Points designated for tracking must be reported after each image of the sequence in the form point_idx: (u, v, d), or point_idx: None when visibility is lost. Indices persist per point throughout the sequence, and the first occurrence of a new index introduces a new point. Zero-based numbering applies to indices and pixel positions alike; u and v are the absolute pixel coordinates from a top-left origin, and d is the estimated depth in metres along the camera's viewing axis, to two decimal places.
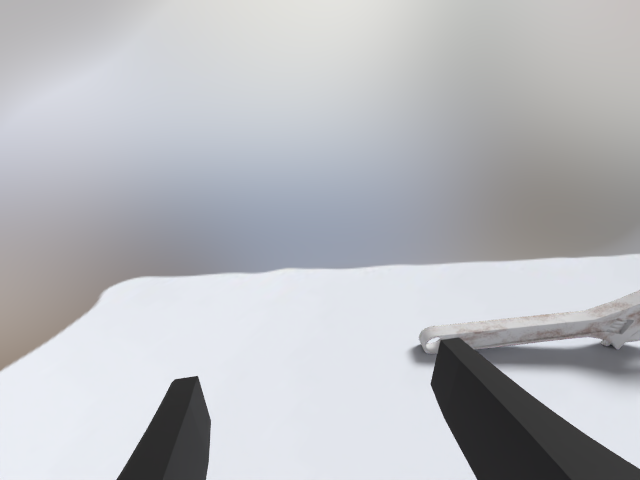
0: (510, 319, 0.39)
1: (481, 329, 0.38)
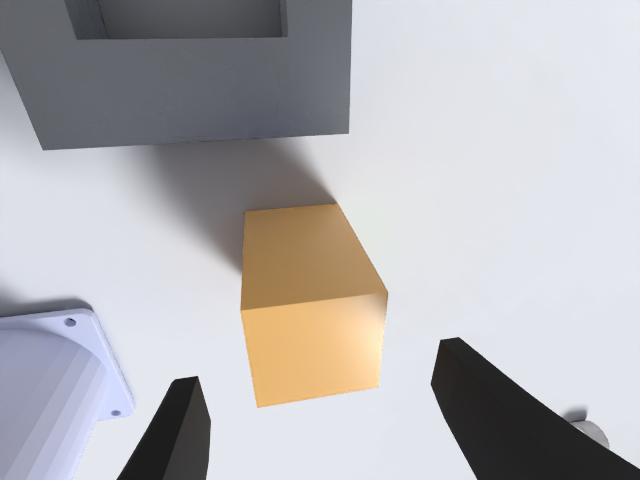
0: None
1: None
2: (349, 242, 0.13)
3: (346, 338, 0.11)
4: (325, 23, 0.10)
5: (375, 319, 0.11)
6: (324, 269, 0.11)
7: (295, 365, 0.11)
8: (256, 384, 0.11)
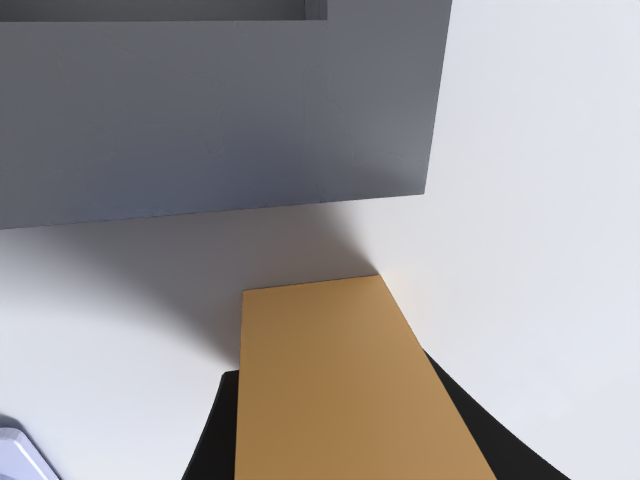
0: None
1: None
2: (417, 373, 0.08)
3: None
4: None
5: None
6: (388, 457, 0.06)
7: None
8: None
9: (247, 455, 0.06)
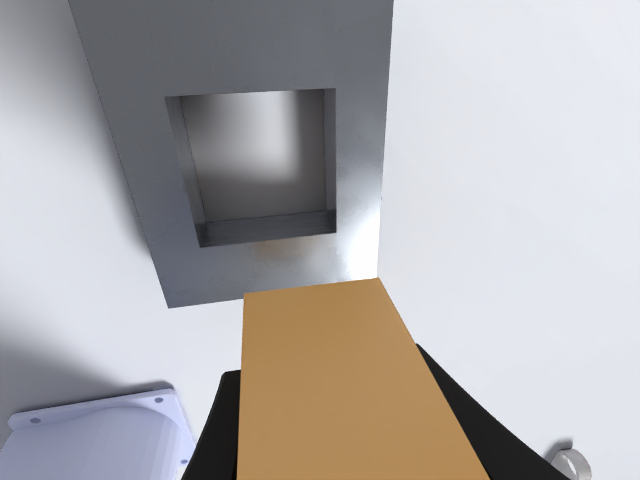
0: None
1: None
2: (415, 375, 0.08)
3: None
4: (362, 223, 0.15)
5: None
6: (385, 456, 0.06)
7: None
8: None
9: (249, 455, 0.06)
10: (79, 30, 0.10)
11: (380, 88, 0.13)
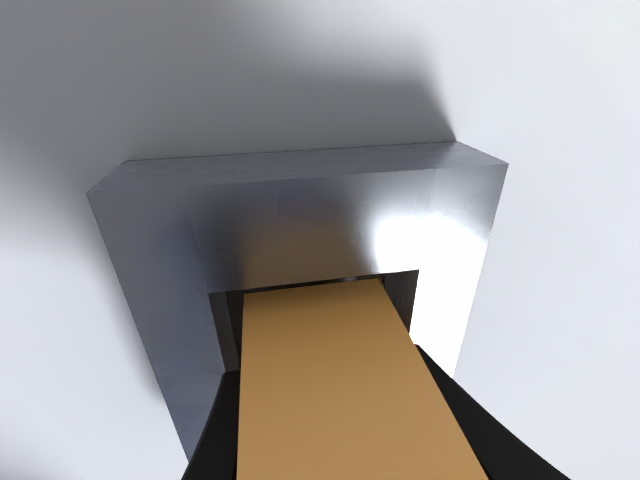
0: None
1: None
2: (414, 375, 0.08)
3: None
4: None
5: None
6: (385, 457, 0.06)
7: None
8: None
9: (249, 455, 0.06)
10: (104, 236, 0.08)
11: (472, 265, 0.10)
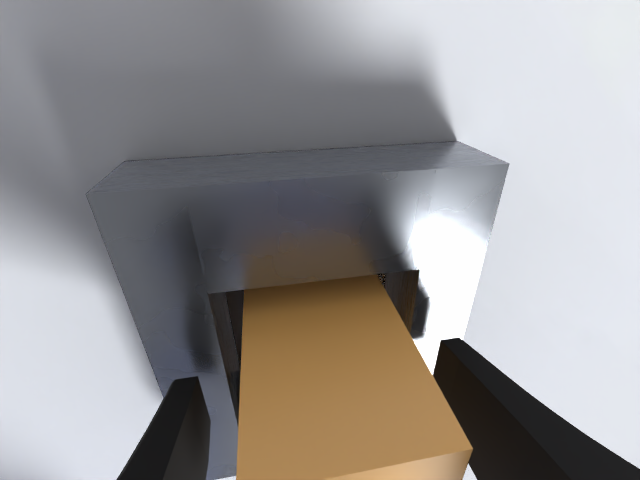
0: None
1: None
2: (393, 331, 0.09)
3: None
4: None
5: None
6: (364, 390, 0.07)
7: None
8: None
9: (249, 390, 0.08)
10: (104, 236, 0.08)
11: (472, 265, 0.10)
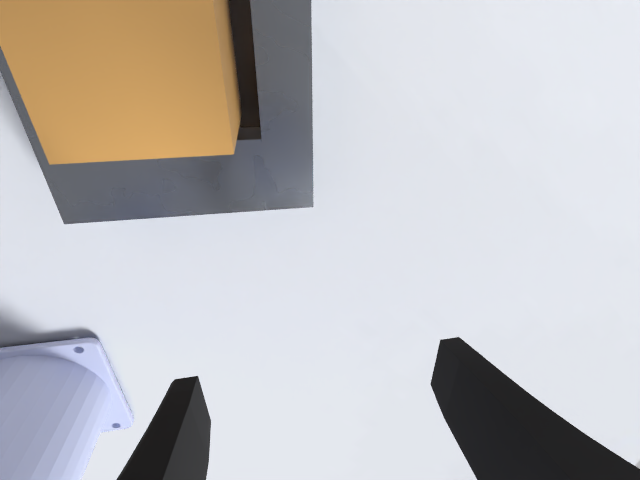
0: None
1: None
2: None
3: (156, 33, 0.07)
4: (291, 128, 0.13)
5: None
6: None
7: (86, 79, 0.07)
8: (33, 111, 0.08)
9: None
10: None
11: None
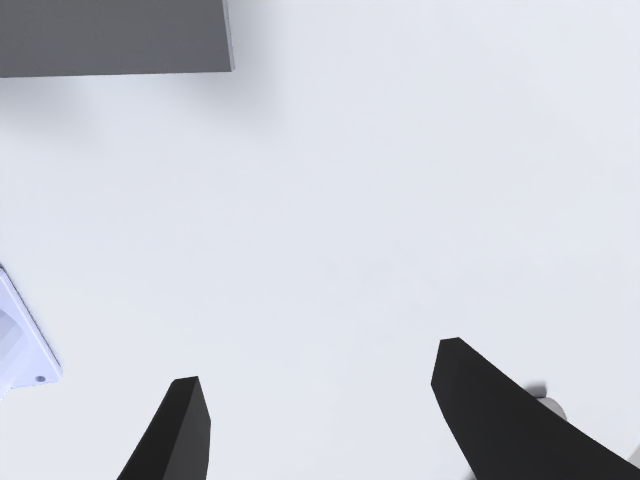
0: None
1: None
2: None
3: None
4: None
5: None
6: None
7: None
8: None
9: None
10: None
11: None
